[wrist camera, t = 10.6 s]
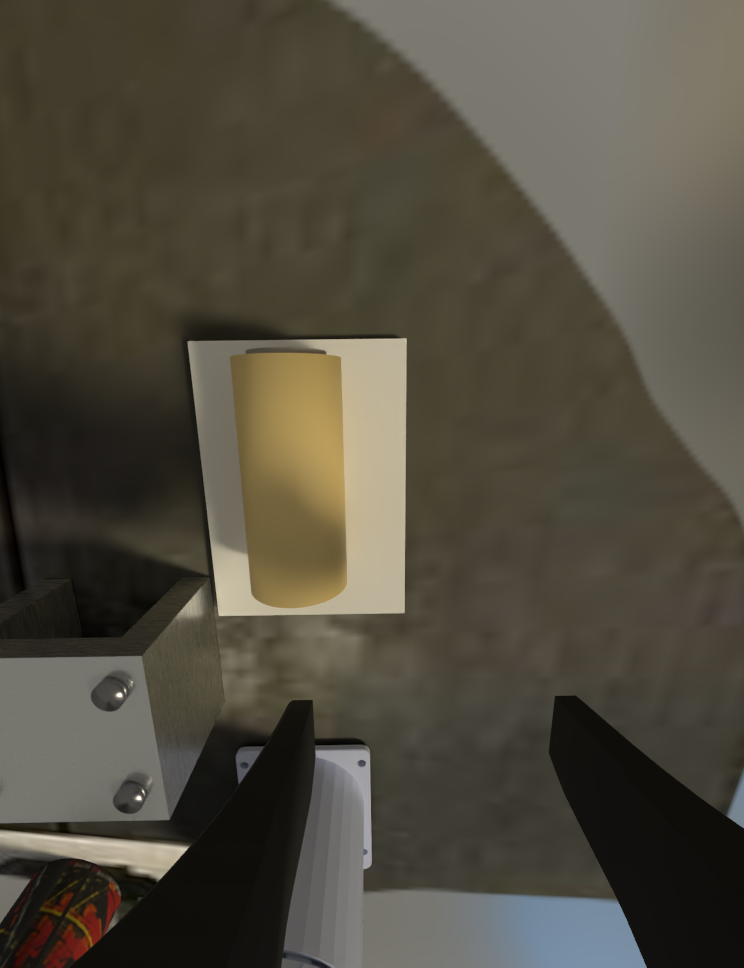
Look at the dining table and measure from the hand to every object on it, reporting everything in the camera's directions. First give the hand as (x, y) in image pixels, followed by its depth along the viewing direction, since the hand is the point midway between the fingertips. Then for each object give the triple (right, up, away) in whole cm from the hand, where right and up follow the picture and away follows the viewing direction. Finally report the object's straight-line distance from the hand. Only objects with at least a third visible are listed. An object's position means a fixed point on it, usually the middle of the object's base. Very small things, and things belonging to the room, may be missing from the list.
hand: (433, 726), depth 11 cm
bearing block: (-15, -2, +10) cm, 18 cm away
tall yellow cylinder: (-5, +8, +8) cm, 12 cm away
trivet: (-5, +7, +8) cm, 12 cm away
